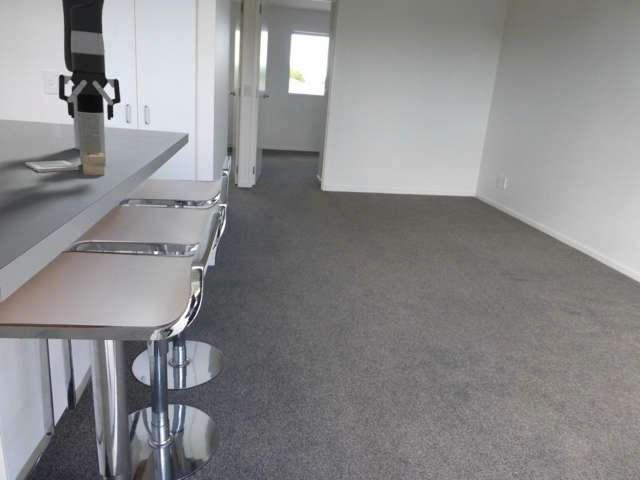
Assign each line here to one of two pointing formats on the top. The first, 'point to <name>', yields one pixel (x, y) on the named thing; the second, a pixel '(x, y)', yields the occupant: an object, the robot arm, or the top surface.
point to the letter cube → (93, 164)
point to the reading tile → (52, 166)
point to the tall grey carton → (91, 124)
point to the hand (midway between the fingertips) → (91, 118)
